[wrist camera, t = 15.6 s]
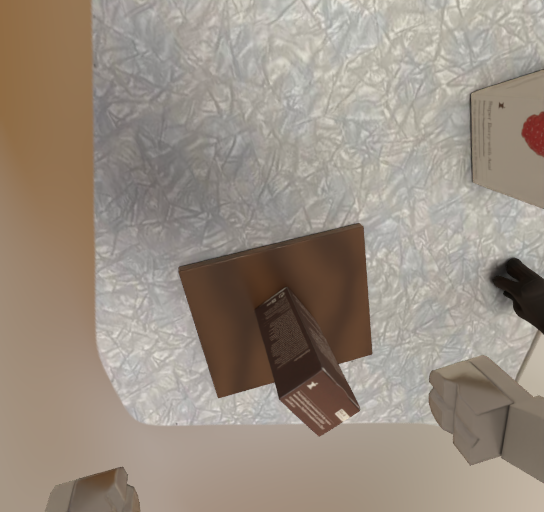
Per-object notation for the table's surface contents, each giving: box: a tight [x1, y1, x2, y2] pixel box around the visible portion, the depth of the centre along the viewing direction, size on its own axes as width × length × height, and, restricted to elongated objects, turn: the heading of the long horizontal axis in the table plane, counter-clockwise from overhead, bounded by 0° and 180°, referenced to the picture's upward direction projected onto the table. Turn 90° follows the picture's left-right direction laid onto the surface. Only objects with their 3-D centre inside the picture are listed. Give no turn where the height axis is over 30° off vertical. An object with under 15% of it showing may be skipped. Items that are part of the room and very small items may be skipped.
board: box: [179, 223, 372, 398], centre depth 40 cm, size 18×16×1 cm
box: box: [255, 287, 360, 436], centre depth 35 cm, size 6×4×12 cm
